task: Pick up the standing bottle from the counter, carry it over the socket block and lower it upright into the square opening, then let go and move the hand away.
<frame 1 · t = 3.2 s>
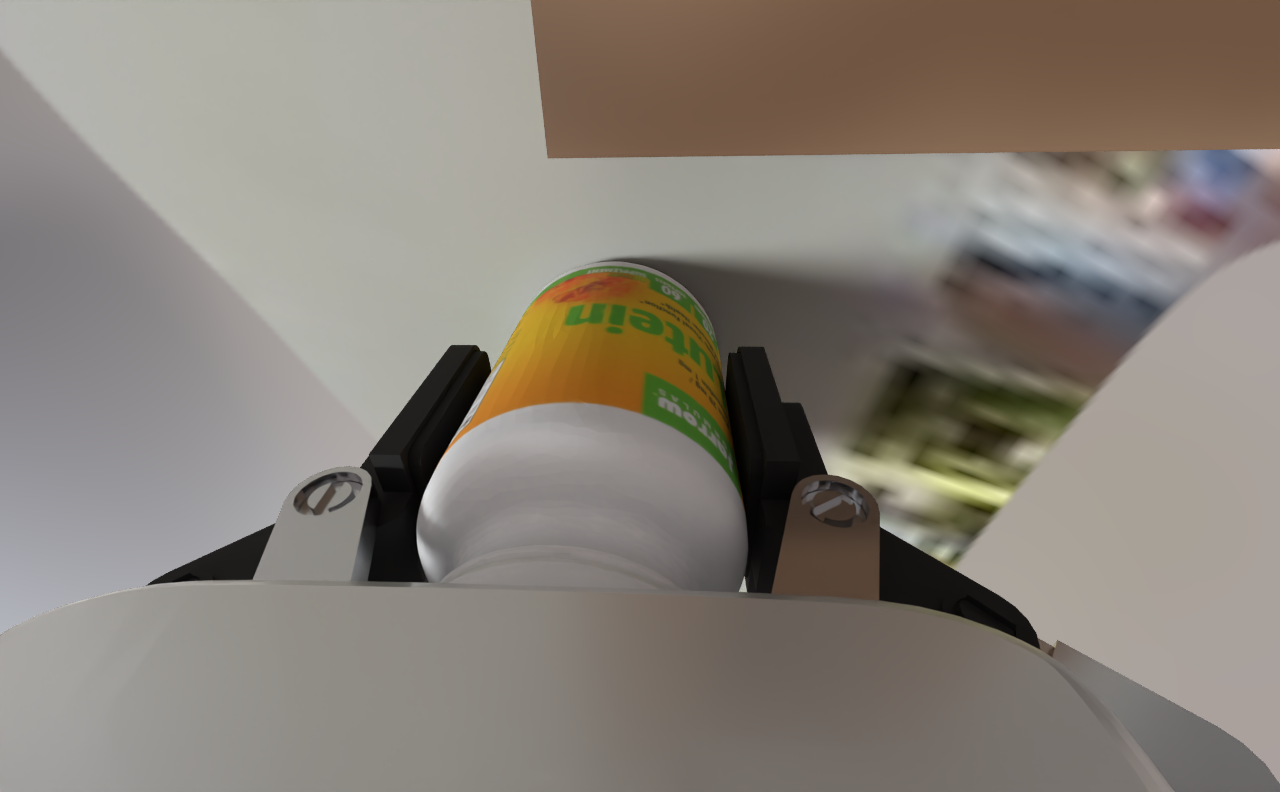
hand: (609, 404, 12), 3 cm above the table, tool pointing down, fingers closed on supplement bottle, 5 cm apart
supplement bottle: (618, 349, 14), on the table, touching gripper
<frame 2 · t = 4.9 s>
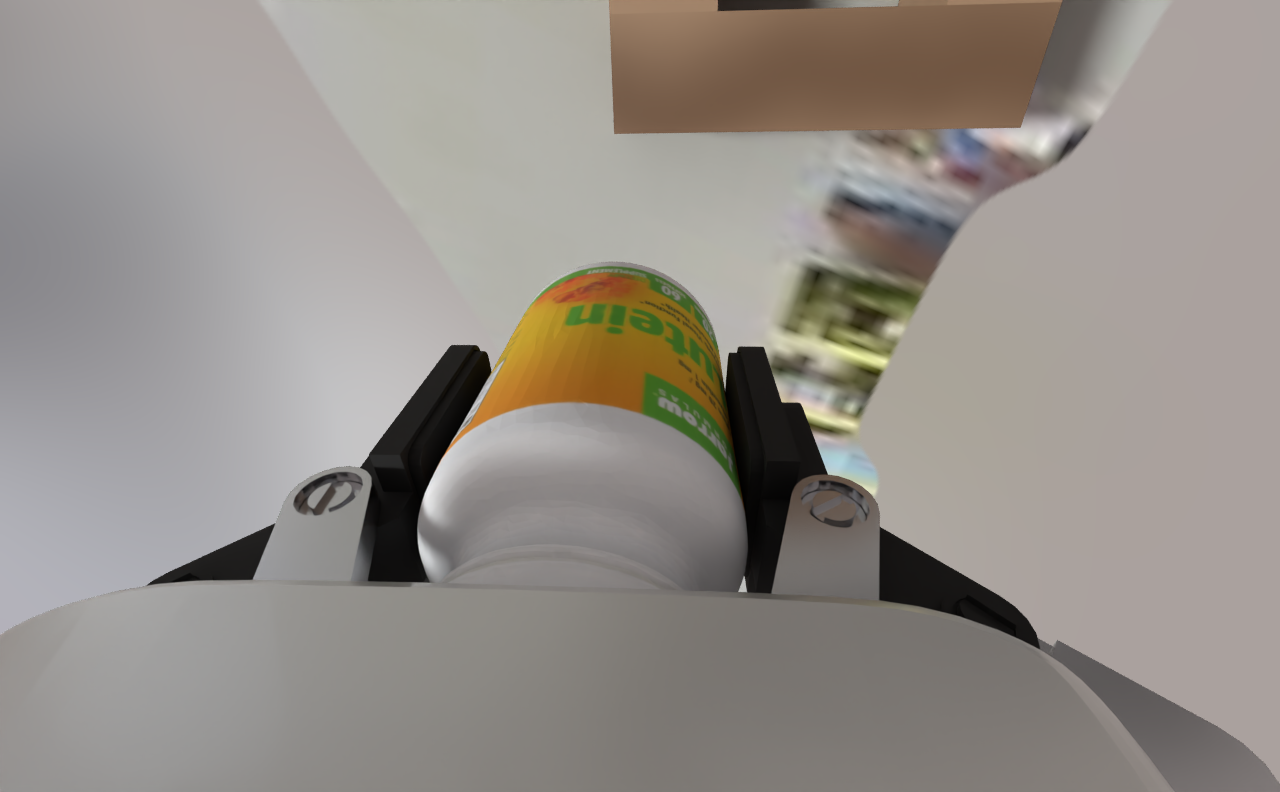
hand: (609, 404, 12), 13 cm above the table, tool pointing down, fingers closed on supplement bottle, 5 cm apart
supplement bottle: (618, 349, 14), point 10 cm above the table, touching gripper
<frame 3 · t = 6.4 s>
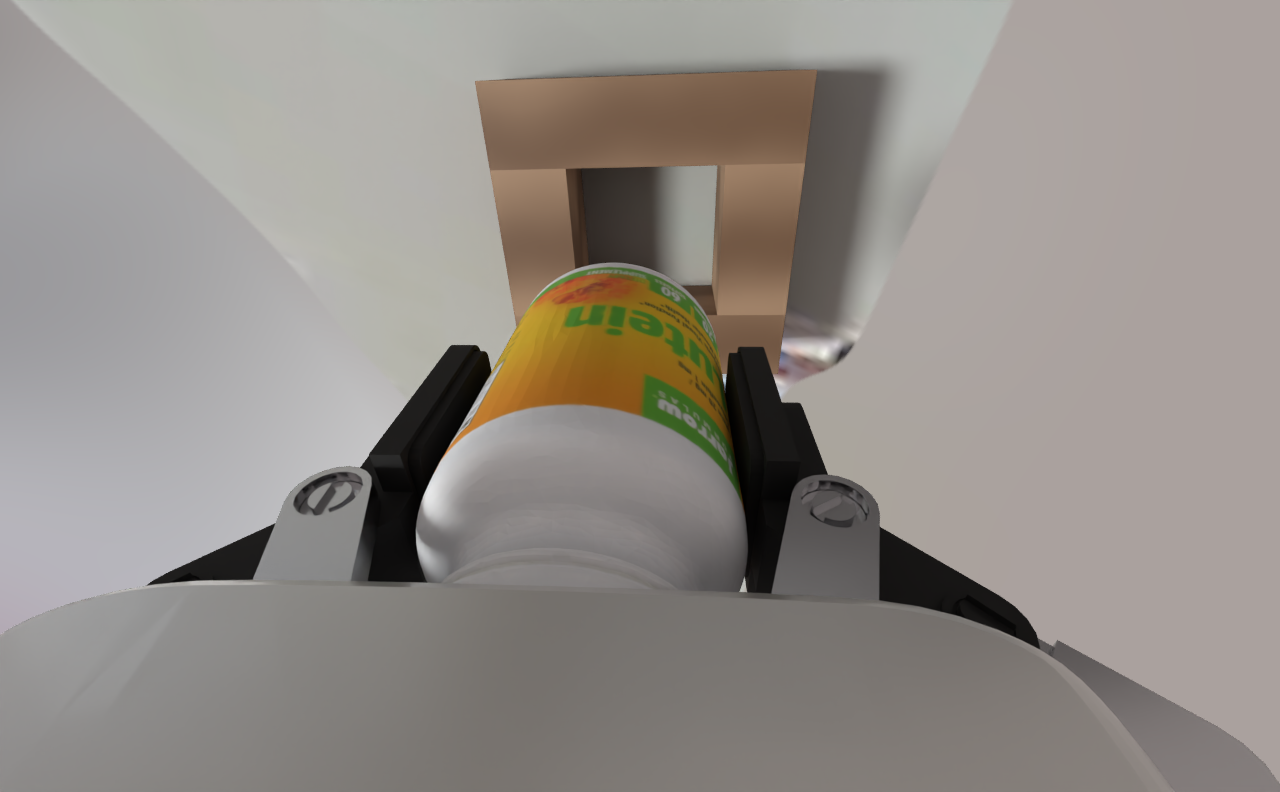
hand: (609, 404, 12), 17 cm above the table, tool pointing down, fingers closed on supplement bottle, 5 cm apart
socket block: (649, 224, 26), on the table
supplement bottle: (618, 350, 14), point 14 cm above the table, touching gripper
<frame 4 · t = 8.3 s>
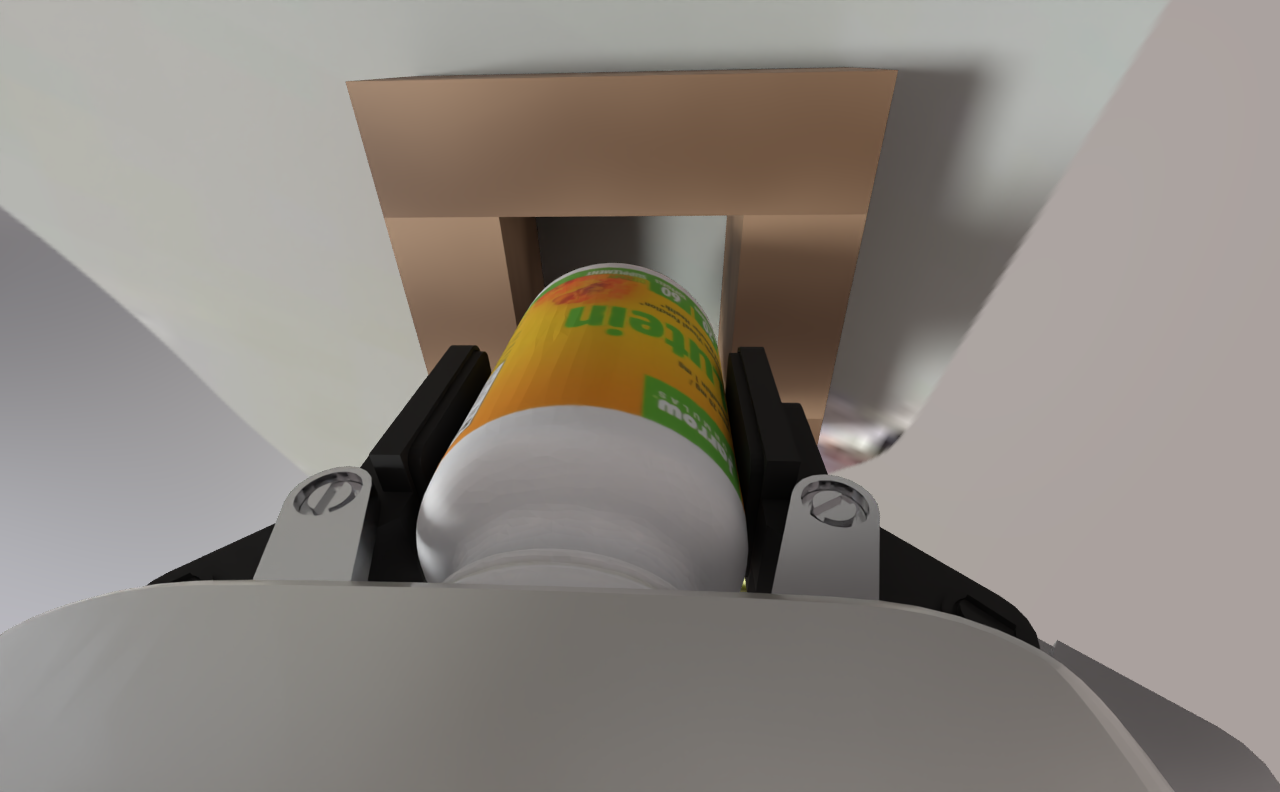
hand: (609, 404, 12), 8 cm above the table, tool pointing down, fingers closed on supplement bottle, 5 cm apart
socket block: (632, 280, 19), on the table
supplement bottle: (618, 350, 14), point 6 cm above the table, touching gripper
when the fingers open (5 cm above the table, at t = 9.6 s): supplement bottle drops 3 cm, resting in socket block.
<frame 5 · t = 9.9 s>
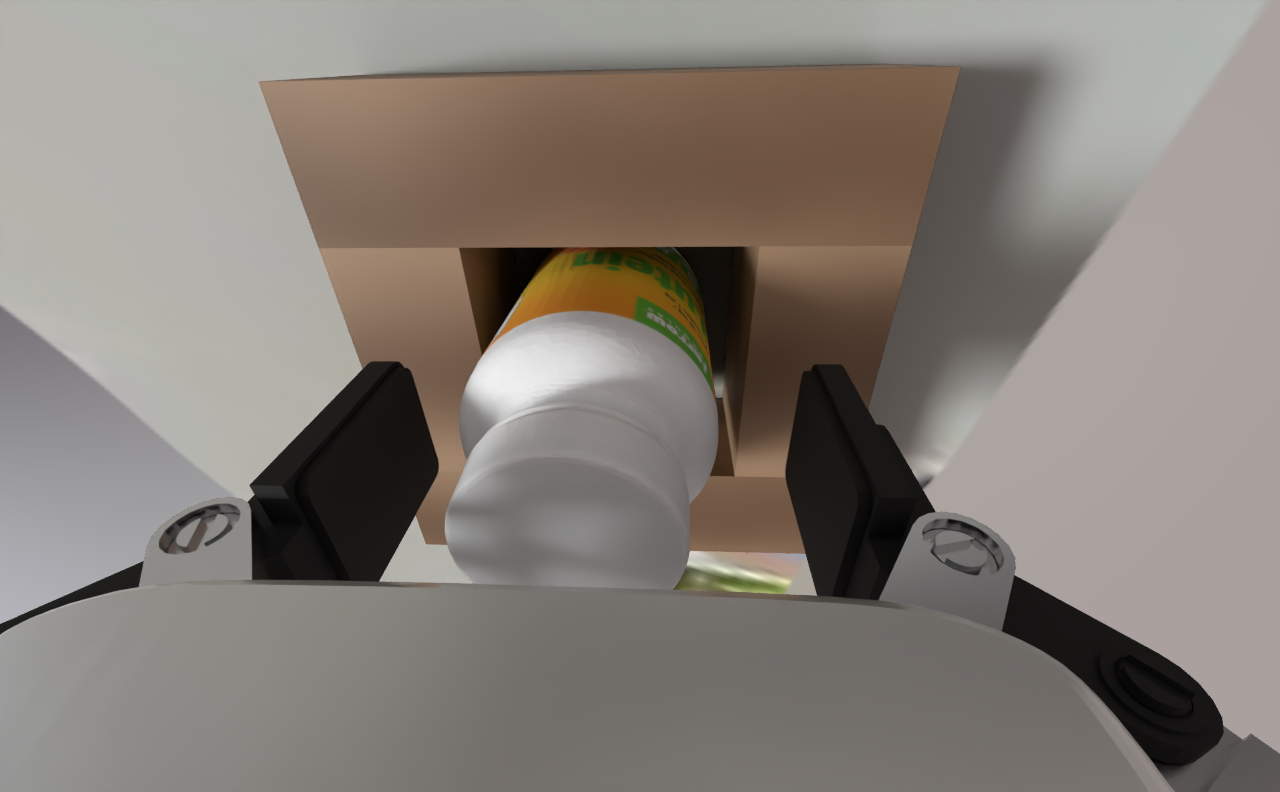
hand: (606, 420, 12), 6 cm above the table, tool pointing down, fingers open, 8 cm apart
socket block: (625, 311, 16), on the table
supplement bottle: (617, 304, 17), resting in socket block
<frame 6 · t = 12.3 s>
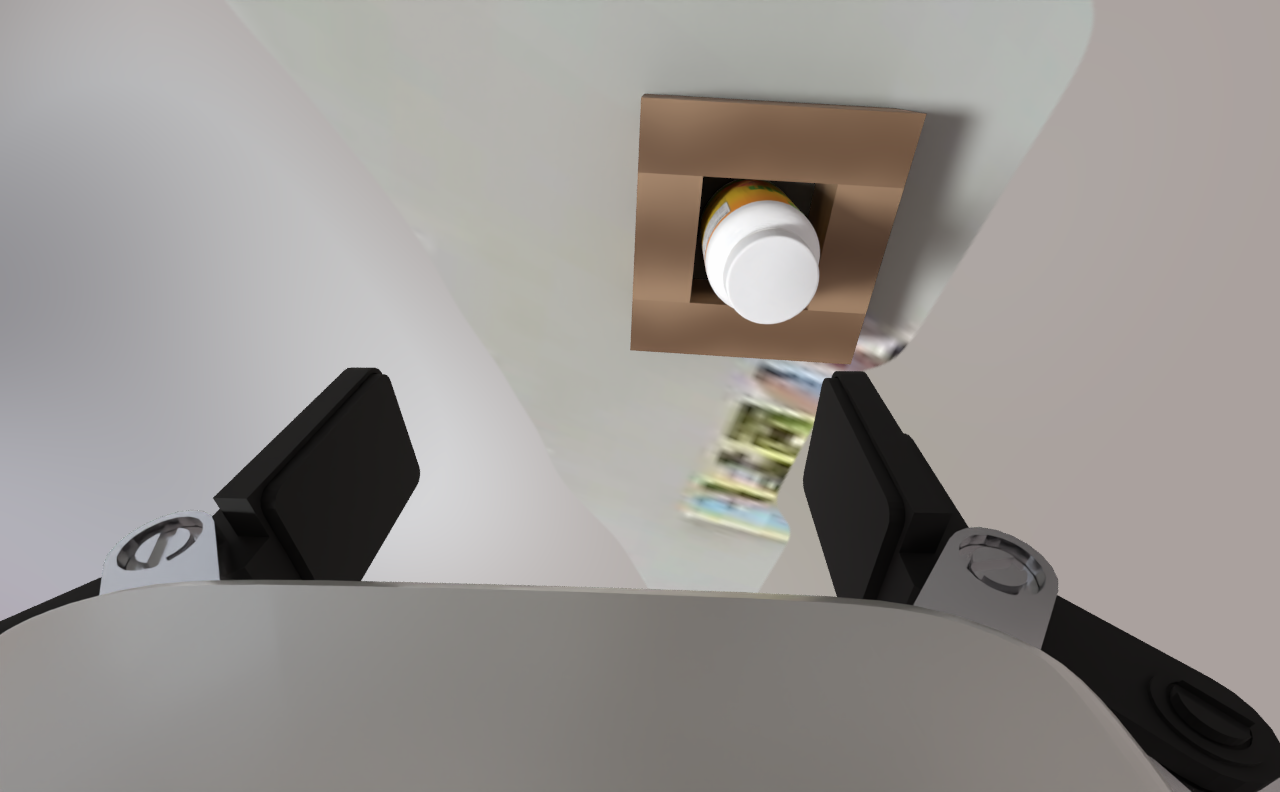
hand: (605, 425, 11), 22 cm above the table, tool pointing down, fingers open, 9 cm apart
socket block: (748, 227, 30), on the table
supplement bottle: (744, 224, 31), resting in socket block
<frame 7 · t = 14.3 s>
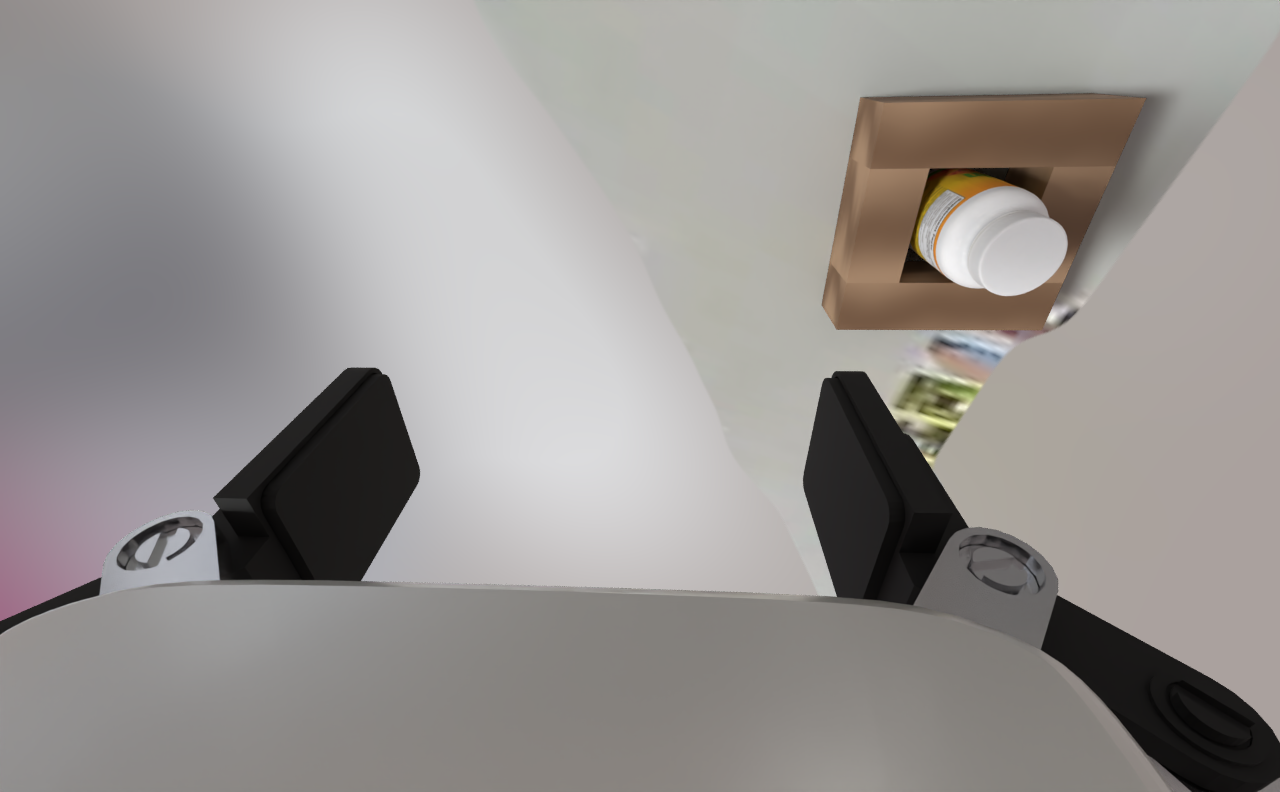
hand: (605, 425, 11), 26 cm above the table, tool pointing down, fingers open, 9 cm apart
socket block: (941, 211, 33), on the table
supplement bottle: (936, 208, 34), resting in socket block
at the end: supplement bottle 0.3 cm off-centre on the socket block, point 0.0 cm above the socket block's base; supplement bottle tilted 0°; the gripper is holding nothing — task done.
